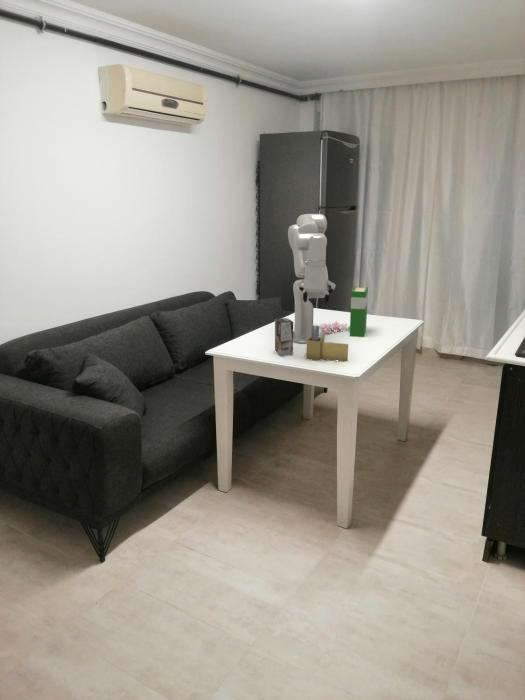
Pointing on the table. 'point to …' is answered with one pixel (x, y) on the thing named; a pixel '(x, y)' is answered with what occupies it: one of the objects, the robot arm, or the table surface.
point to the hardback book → (358, 312)
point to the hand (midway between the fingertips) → (315, 302)
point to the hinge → (326, 350)
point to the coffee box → (284, 336)
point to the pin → (315, 333)
